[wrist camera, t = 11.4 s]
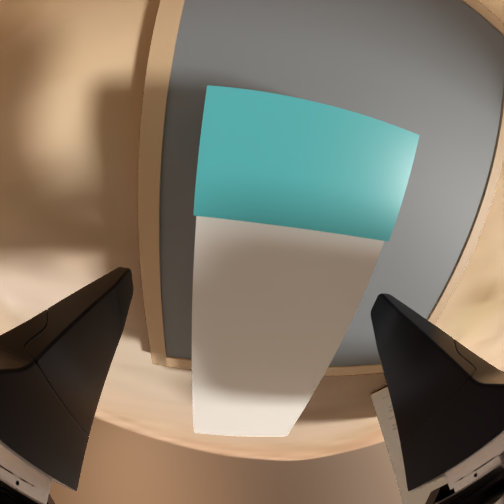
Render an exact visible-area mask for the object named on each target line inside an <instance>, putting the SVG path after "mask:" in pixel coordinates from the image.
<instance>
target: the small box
mask: <svg viewBox="0 0 504 504" xmlns="http://www.w3.org/2000/svg"><path fill="white" fill-rule="evenodd" d="M371 399H372V402H373V406H374V408H375V411H376V415H377V418H378V421H379V424H380V427H381V431H382V434H383V437H384V440H385V444H386V447H387V450H388V453H389V457H390V460H391V463H392V466H393V470H394V473H395V476H396V480H397V484H398V488H399V491H400V495H401V499H402V502H403V504H425V503H426V501H427V499H428V497H429V495H430V493H431V491H433V490H435V489H437V488H439V487H441V486H443V485H445V484H447V479H446V476H443V477H441V478H439V479H437V480H435V481H433V482H430V483H428V484H426V485H424V486H421V487H419V488H416V489H414V490H412V491H408V489H407V482H406V475H405V468H404V462H403V456H402V451H401V445H400V444H401V443H400V439H399V434H398V429H397V425H396V420H395V415H394V411H393V407H392V403H391V398H390V394H389V390H388V387H386V388H384V389H382V390H380V391H377V392H375V393H373V394H371Z"/></svg>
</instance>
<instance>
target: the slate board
mask: <svg viewBox="0 0 504 504" xmlns="http://www.w3.org/2000/svg"><path fill="white" fill-rule="evenodd" d="M207 85H209V86H221V87H231V88H240V89H248V90H255V91H262V92H268V93H274V94H280V95H285V96H291V97H296V98H300V99H305V100H310V101H314V102H318V103H322V104H326V105H330V106H334V107H338V108H342V109H345V110H349V111H352V112H356V113H359V114H362V115H365V116H368V117H372V118H375V119H378V120H381V121H383V122H386V123H389V124H392V125H395V126H397V127H400V128H403V129H405V130H408V131H410V132H413V133H415V134H418V135H419V140H418V144H417V149H416V153H415V157H414V161H413V165H412V169H411V173H410V177H409V180H408V184H407V187H406V191H405V194H404V197H403V201H402V204H401V207H400V210H399V213H398V217H397V220H396V223H395V225H394V228H393V231H392V234H391V237H390V240H389V242H388V241H384V244H383V246H382V249H381V252H380V255H379V257H378V260H377V262H376V265H375V268H374V270H373V273H372V275H371V278H370V280H369V282H368V285H367V287H366V290H365V292H364V294H363V297H362V299H361V301H360V303H359V306H358V308H357V310H356V312H355V315H354V317H353V319H352V321H351V323H350V325H349V327H348V329H347V332H346V334H345V336H344V338H343V340H342V342H341V344H340V346H339V348H338V350H337V352H336V353H335V355H334V357H333V359H332V361H331V363H330V365H329V367H328V369H327V370H326V372H325V374H324V376H342V375H359V374H372V373H383V372H384V371H383V368H382V364H381V361H380V357H379V354H378V350H377V345H376V340H375V335H374V330H373V325H372V320H371V309H372V307H373V305H374V303H375V301H376V299H377V296H378V295H379V294H381V293H386V294H390V295H392V296H393V297H395V298H396V299H398V300H399V301H401V302H402V303H404V304H405V305H407V306H408V307H409V308H411V309H412V310H414V311H415V312H417V313H418V314H420V315H421V316H422V317H424V318H425V319H427V320H428V321H429V322H431V323H432V324H434V325H435V323H436V322H437V320H438V319H439V317H440V315H441V314H442V312H443V310H444V308H445V307H446V305H447V303H448V301H449V300H450V298H451V296H452V294H453V292H454V290H455V288H456V287H457V285H458V283H459V281H460V279H461V277H462V275H463V273H464V271H465V269H466V266H467V264H468V262H469V260H470V258H471V256H472V253H473V251H474V249H475V246H476V244H477V242H478V239H479V237H480V234H481V232H482V229H483V227H484V224H485V221H486V218H487V216H488V213H489V210H490V207H491V204H492V201H493V198H494V194H495V191H496V188H497V184H498V181H499V177H500V173H501V169H502V165H503V161H504V23H503V22H501V21H500V20H499V19H498V18H497V17H496V16H495V15H494V14H493V13H492V12H491V11H489V10H488V9H487V8H486V7H485V6H484V5H482V4H481V3H480V2H479V1H477V0H160V4H159V8H158V12H157V16H156V21H155V26H154V30H153V35H152V40H151V46H150V51H149V57H148V64H147V70H146V77H145V85H144V93H143V102H142V112H141V123H140V137H139V156H138V235H139V255H140V269H141V281H142V292H143V301H144V310H145V318H146V325H147V332H148V339H149V346H150V352H151V358H152V363H153V364H156V365H162V366H168V367H175V368H182V369H190V370H192V293H193V267H194V247H195V231H196V216H193V212H194V199H195V186H196V175H197V164H198V155H199V145H200V136H201V128H202V120H203V112H204V105H205V97H206V91H207Z"/></svg>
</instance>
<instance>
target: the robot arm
mask: <svg viewBox="0 0 504 504" xmlns="http://www.w3.org/2000/svg"><path fill="white" fill-rule="evenodd" d="M132 295H133V282H132V273H131V270H130V269H129V268H123V267H119V268H117V269H115V270H113V271H111V272H110V273H108V274H106V275H104V276H103V277H101V278H99V279H97V280H95V281H94V282H92V283H90V284H88V285H87V286H85V287H83V288H82V289H80V290H78V291H76V292H75V293H73V294H71V295H70V296H68V297H66V298H65V299H63V300H61V301H60V302H58V303H56V304H55V305H53V306H51V307H50V308H48V310H45V311H43V312H42V313H40V314H38V315H37V316H35V317H33V318H32V319H30V320H28V321H26V322H25V323H23V324H21V325H19V326H17V327H15V328H14V329H12V330H10V331H8V332H6V333H4V334H2V335H0V504H55V503H54V501H53V500H52V498H51V496H50V494H49V490H50V486H51V482H52V481H54V482H56V483H58V484H61V485H63V486H65V487H68V488H70V489H72V490H75V491H77V488H78V482H79V478H80V473H81V468H82V463H83V459H84V454H85V450H86V446H87V442H88V438H89V437H88V436H89V433H90V430H91V426H92V423H93V419H94V416H95V412H96V409H97V405H98V402H99V399H100V396H101V392H102V389H103V386H104V383H105V380H106V377H107V374H108V371H109V368H110V365H111V362H112V359H113V357H114V354H115V351H116V348H117V346H118V343H119V340H120V337H121V335H122V332H123V329H124V325H125V321H126V317H127V313H128V310H129V306H130V302H131V299H132ZM371 320H372V325H373V330H374V335H375V340H376V345H377V350H378V354H379V357H380V361H381V364H382V368H383V371H384V375H385V379H386V383H387V386H388V390H389V394H390V398H391V403H392V407H393V411H394V415H395V420H396V425H397V429H398V434H399V439H400V443H401V444H400V445H401V451H402V456H403V462H404V468H405V475H406V482H407V489H408V491H412V490H414V489H416V488H419V487H421V486H424V485H426V484H428V483H430V482H433V481H435V480H437V479H439V478H441V477H443V476H446V479H447V484H445V485H443V486H441V487H439V488H437V489H435V490H433V491H431V493H430V495H429V497H428V499H427V501H426V503H425V504H504V372H503V371H500V370H498V369H497V368H495V367H494V366H492V365H491V364H489V363H488V362H486V361H485V360H483V359H482V358H480V357H479V356H477V355H476V354H474V353H473V352H471V351H470V350H468V349H467V348H466V347H464V346H463V345H461V344H460V343H459V342H457V341H456V340H453V338H452V337H450V336H449V335H448V334H446V333H445V332H443V331H442V330H441V329H439V328H438V327H437V326H435V325H434V324H432V323H431V322H429V321H428V320H427V319H425V318H424V317H422V316H421V315H420V314H418V313H417V312H415V311H414V310H412V309H411V308H409V307H408V306H407V305H405V304H404V303H402V302H401V301H399V300H398V299H396V298H395V297H393V296H392V295H390V294H386V293H381V294H379V295H378V296H377V299H376V301H375V303H374V305H373V307H372V309H371Z"/></svg>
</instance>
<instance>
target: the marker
mask: <svg viewBox="0 0 504 504" xmlns="http://www.w3.org/2000/svg"><path fill="white" fill-rule="evenodd" d="M418 140H419V135H418V134H415V133H413V132H410V131H408V130H405V129H403V128H400V127H397V126H395V125H392V124H389V123H386V122H383V121H381V120H378V119H375V118H372V117H368V116H365V115H362V114H359V113H356V112H352V111H349V110H345V109H342V108H338V107H334V106H330V105H326V104H322V103H318V102H314V101H310V100H305V99H300V98H296V97H291V96H285V95H280V94H274V93H268V92H262V91H255V90H248V89H240V88H231V87H221V86H209V85H207V91H206V97H205V105H204V112H203V120H202V128H201V136H200V145H199V155H198V164H197V175H196V186H195V199H194V212H193V216H196V231H195V247H194V267H193V293H192V400H193V425H194V433H201V434H212V435H225V436H245V437H286V436H287V435H288V433H289V432H290V430H291V429H292V427H293V426H294V424H295V423H296V421H297V420H298V418H299V416H300V415H301V413H302V412H303V410H304V408H305V407H306V405H307V403H308V402H309V400H310V398H311V397H312V395H313V393H314V392H315V390H316V388H317V386H318V385H319V383H320V381H321V379H322V378H323V376H324V374H325V372H326V370H327V369H328V367H329V365H330V363H331V361H332V359H333V357H334V355H335V353H336V352H337V350H338V348H339V346H340V344H341V342H342V340H343V338H344V336H345V334H346V332H347V329H348V327H349V325H350V323H351V321H352V319H353V317H354V315H355V312H356V310H357V308H358V306H359V303H360V301H361V299H362V297H363V294H364V292H365V290H366V287H367V285H368V282H369V280H370V278H371V275H372V273H373V270H374V268H375V265H376V262H377V260H378V257H379V255H380V252H381V249H382V246H383V244H384V241H388V242H389V240H390V237H391V234H392V231H393V228H394V225H395V223H396V220H397V217H398V213H399V210H400V207H401V204H402V201H403V197H404V194H405V191H406V187H407V184H408V180H409V177H410V173H411V169H412V165H413V161H414V157H415V153H416V149H417V144H418Z"/></svg>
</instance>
